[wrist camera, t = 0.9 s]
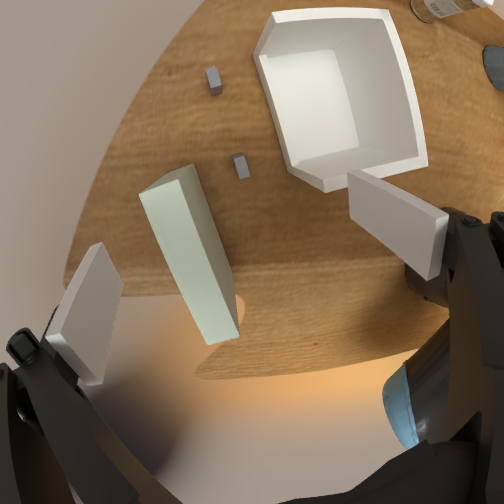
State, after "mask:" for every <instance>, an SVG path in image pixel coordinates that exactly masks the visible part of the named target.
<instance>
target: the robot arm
mask: <svg viewBox="0 0 504 504" xmlns="http://www.w3.org/2000/svg"><path fill="white" fill-rule="evenodd" d="M347 182H348V195H349V210H350V218H351V219H352V220H353V221H355V222H356V223H357V224H358V225H360V226H361V227H362V228H364V229H365V230H366V231H368V232H369V233H370V234H371V235H373V236H374V237H375V238H376V239H378V240H379V241H380V242H381V243H383V244H384V245H385V246H386V247H388V248H389V249H390V250H391V251H392V252H394V253H395V254H396V255H397V256H398V257H400V258H401V259H402V260H403V261H404V262H406V265H405V273H406V279H407V282H408V284H409V286H410V287H411V289H412V290H413V291H414V292H415V293H416V294H417V295H419V296H420V297H421V298H423V299H424V300H427V301H430V302H434V303H436V304H438V305H441V306H444V307H446V308H449V316H450V318H449V319H448V320H447V321H446V322H445V323H444V324H443V325H442V326H441V327H440V328H439V329H438V330H437V331H436V333H435V334H434V335H433V336H432V337H431V338H430V339H429V340H428V341H427V342H426V343H425V344H424V345H423V346H422V347H421V348H420V349H419V350H418V351H417V352H416V353H415V354H414V355H413V356H411V357H410V358H409V359H408V360H406V361H405V362H403V365H402V366H401V367H400V368H399V369H398V370H397V371H396V372H395V373H394V374H393V375H392V376H391V377H390V378H389V379H388V380H387V381H386V383H385V384H384V387H383V393H382V395H383V403H384V408H385V411H386V414H387V417H388V420H389V422H390V424H391V426H392V429H393V430H394V432H395V434H396V436H397V438H398V439H399V441H400V442H401V444H402V445H403V446H404V447H405V448H406V449H408V450H407V451H405V452H404V453H402V454H400V455H398V456H397V457H395V458H393V459H391V460H389V461H388V462H387V463H385V464H384V465H383V466H382V467H381V468H380V469H378V470H377V471H376V472H375V473H373V474H372V475H371V476H369V477H368V478H367V479H365V480H364V481H363V482H361V483H360V484H359V485H357V486H356V487H355V488H353V489H352V490H350V491H348V492H344V493H339V494H333V495H326V496H318V497H310V498H299V499H293V500H290V501H286V502H283V503H279V504H504V212H493V213H492V214H491V220H490V223H487V224H483V223H482V221H481V220H479V219H478V218H476V217H473V216H470V215H467V214H465V213H463V212H461V211H459V210H457V209H454V208H443V209H439V208H437V207H436V206H434V205H431V204H430V203H429V202H427V201H425V200H423V199H420V198H418V197H416V196H414V195H412V194H410V193H408V192H406V191H404V190H402V189H400V188H398V187H396V186H394V185H392V184H390V183H388V182H386V181H383V180H381V179H379V178H377V177H375V176H373V175H370V174H368V173H366V172H364V171H361V170H359V169H357V170H353V171H348V172H347ZM123 286H124V284H123V283H122V281H121V279H120V277H119V275H118V273H117V271H116V269H115V267H114V265H113V263H112V261H111V259H110V257H109V255H108V253H107V250H106V248H105V246H104V244H103V242H101V243H98V244H95V245H92V246H90V248H89V250H88V251H87V253H86V255H85V256H84V258H83V260H82V262H81V263H80V265H79V267H78V269H77V271H76V273H75V274H74V276H73V278H72V280H71V282H70V284H69V286H68V288H67V290H66V292H65V294H64V296H63V298H62V300H61V302H60V304H59V305H58V306H57V307H56V308H55V310H54V312H53V314H52V316H51V319H50V321H49V323H48V326H47V328H46V330H45V332H44V334H43V337H42V339H41V341H40V342H39V341H38V340H37V339H36V337H35V336H34V335H33V333H32V332H31V331H30V329H29V328H22V329H20V330H19V331H17V332H16V333H15V334H14V335H13V336H12V337H11V338H10V340H9V341H8V344H7V346H6V351H7V352H8V353H9V354H10V356H11V357H12V358H13V359H14V360H15V361H16V363H17V364H18V365H19V366H20V367H19V368H17V369H15V370H13V371H12V370H11V369H10V368H9V366H8V365H7V364H6V363H1V364H0V504H76V503H75V501H74V498H73V495H72V493H71V490H70V488H69V485H68V482H67V479H66V476H67V478H68V480H69V481H70V483H71V485H72V486H73V488H74V490H75V491H76V492H77V494H78V496H79V497H80V499H81V500H82V502H83V503H84V504H183V503H182V502H181V501H179V500H178V499H177V498H176V497H175V496H174V495H172V494H171V493H170V492H169V491H168V490H167V489H166V488H165V487H163V486H162V485H161V484H160V483H159V482H158V481H157V480H156V479H155V478H154V477H153V476H152V475H151V474H150V473H149V472H148V471H147V470H146V469H145V468H144V467H143V466H142V465H141V464H140V463H139V461H138V460H137V459H136V458H135V457H134V456H133V455H132V454H131V453H130V452H129V450H128V449H127V448H126V447H125V446H124V445H123V444H122V442H121V441H120V440H119V439H118V438H117V436H116V435H115V434H114V433H113V432H112V430H111V429H110V428H109V426H108V425H107V424H106V423H105V421H104V420H103V419H102V417H101V416H100V415H99V413H98V412H97V411H96V409H95V408H94V406H93V405H92V404H91V402H90V401H89V399H88V398H87V396H86V395H85V394H84V392H83V390H82V389H81V388H80V387H79V386H78V385H77V382H78V378H80V379H81V380H82V381H83V382H84V383H85V384H86V385H87V386H91V385H98V384H103V378H104V372H105V366H106V361H107V356H108V350H109V345H110V340H111V335H112V331H113V326H114V322H115V318H116V314H117V309H118V305H119V301H120V297H121V294H122V290H123ZM18 413H19V414H20V415H21V416H23V420H22V419H21V418H20V416H19V415H18ZM65 475H66V476H65Z"/></svg>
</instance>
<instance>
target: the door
mask: <svg viewBox="0 0 504 504" xmlns="http://www.w3.org/2000/svg"><path fill="white" fill-rule="evenodd" d="M139 196H140V199H141V202H142V206H143V209H144V211H145V212H146V214H147V217H148V219H149V222H150V224H151V227H152V229H153V231H154V234H155V236H156V239H157V241H158V243H159V246H160V248H161V250H162V252H163V255H164V257H165V259H166V261H167V264H168V266H169V268H170V270H171V272H172V275H173V277H174V279H175V281H176V283H177V285H178V287H179V290H180V292H181V294H182V296H183V298H184V300H185V302H186V304H187V306H188V308H189V310H190V312H191V314H192V316H193V318H194V320H195V322H196V324H197V326H198V328H199V330H200V332H201V334H202V336H203V338H204V339H205V341H206V343H207V345H210V344H214V343H218V342H222V341H226V340H230V339H233V338H237V337H240V333H239V325H238V316H237V308H236V299H235V290H234V281H233V273H232V270H231V268H230V265H229V262H228V259H227V257H226V254H225V251H224V248H223V246H222V243H221V240H220V237H219V234H218V232H217V229H216V226H215V223H214V220H213V217H212V215H211V212H210V209H209V206H208V203H207V200H206V197H205V195H204V192H203V189H202V186H201V183H200V180H199V177H198V174H197V171H196V168H195V165H194V163H193V164H190V165H187V166H184V167H182V168H179V169H176V170H173V171H171V172H168V173H167V174H165V175H164V176H163V177H161V178H160V179H158V180H157V181H156V182H154V183H153V184H152V185H150V186H149V187H148V188H146V189H145V190H144V191H142V192H141V193H140V194H139Z"/></svg>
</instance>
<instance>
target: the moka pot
mask: <svg viewBox="0 0 504 504" xmlns="http://www.w3.org/2000/svg"><path fill="white" fill-rule="evenodd" d="M483 58H484V66H485V70H486V72H487V75H488V77H489V79H490V81H491V83H492V84H493V85H494V87H495V88H496V89H497V90H499V91H504V47H498V46H487V47H486V48H485V50H484V54H483Z"/></svg>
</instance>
